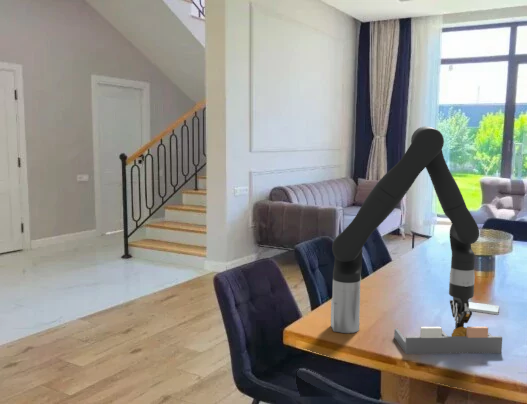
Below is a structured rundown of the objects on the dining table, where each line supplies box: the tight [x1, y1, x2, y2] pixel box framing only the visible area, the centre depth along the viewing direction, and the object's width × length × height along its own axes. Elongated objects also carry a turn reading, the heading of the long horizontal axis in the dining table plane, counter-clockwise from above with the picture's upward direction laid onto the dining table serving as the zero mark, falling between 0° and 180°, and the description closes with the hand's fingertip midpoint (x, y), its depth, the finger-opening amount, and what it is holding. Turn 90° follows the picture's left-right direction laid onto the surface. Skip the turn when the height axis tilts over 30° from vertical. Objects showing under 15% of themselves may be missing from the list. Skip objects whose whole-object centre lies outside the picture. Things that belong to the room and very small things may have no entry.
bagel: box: [451, 326, 467, 336], centre depth 163 cm, size 10×11×5 cm
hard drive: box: [468, 301, 500, 316], centre depth 198 cm, size 2×8×12 cm
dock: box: [393, 326, 503, 355], centre depth 163 cm, size 29×13×8 cm, turn 91°
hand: (459, 333), depth 171 cm, fingers closed
